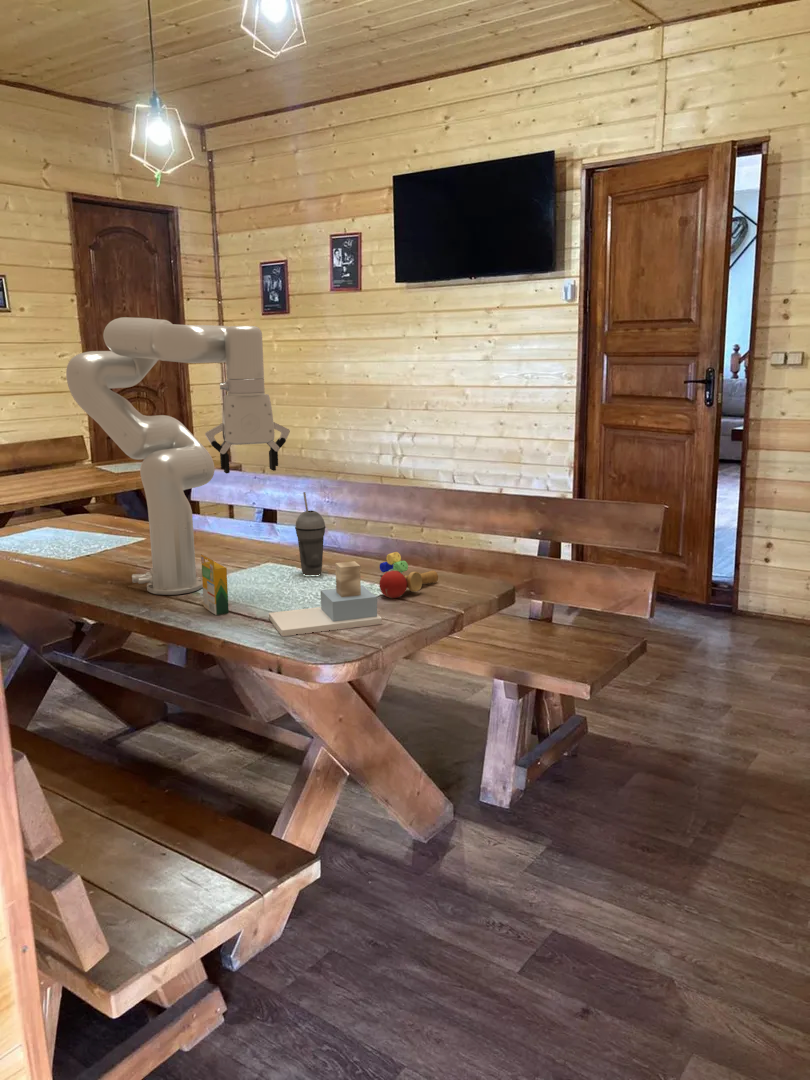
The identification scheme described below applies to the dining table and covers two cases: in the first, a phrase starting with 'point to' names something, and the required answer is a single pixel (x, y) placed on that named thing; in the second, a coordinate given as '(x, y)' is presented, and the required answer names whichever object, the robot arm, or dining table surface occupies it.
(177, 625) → the dining table surface
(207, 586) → the crayon box
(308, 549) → the beverage cup
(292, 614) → the baseplate
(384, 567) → the dice
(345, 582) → the birch block
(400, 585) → the kendama
